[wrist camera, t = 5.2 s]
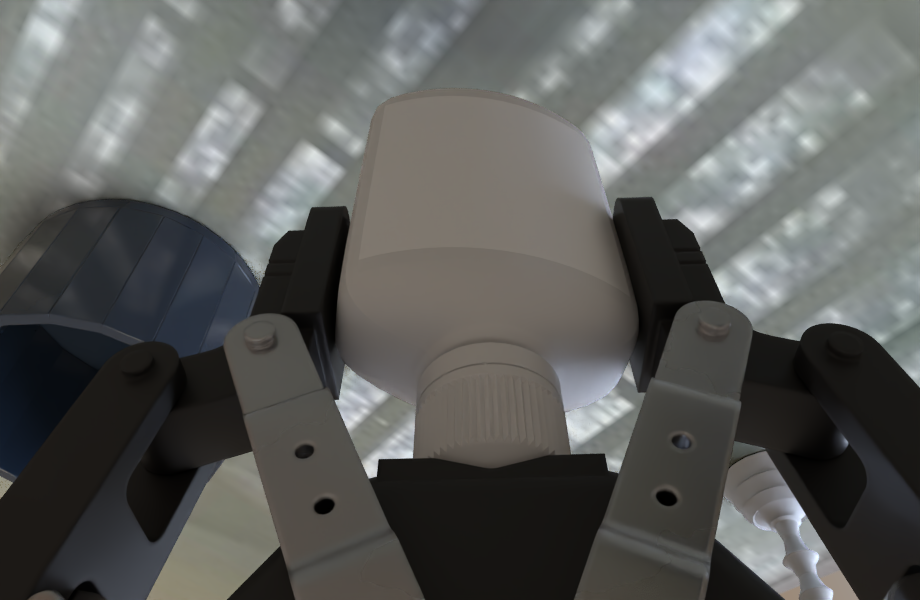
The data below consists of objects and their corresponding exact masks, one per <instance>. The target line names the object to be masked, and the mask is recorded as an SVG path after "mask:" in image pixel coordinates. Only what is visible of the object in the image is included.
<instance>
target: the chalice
mask: <svg viewBox="0 0 920 600" xmlns="http://www.w3.org/2000/svg"><path fill="white" fill-rule="evenodd" d="M723 496H724V497H725V498H726V499H727V500H728V501H730V502H731V503H732V504H733V505H734V507H735V509H736V510H737V511H739V512H740V513H741V514H743V516H744V518H745V519H746V521H748V522H750V523H751V524H753V525H755V526H756V527H758V528H760V529H763V530H767V531H774V532H776V533H778V534H779V535H780V537H781V538H782V540H783V541H784V546H785V551H786V555H785V557H784V559H783V565H784V566H785V567H786V568H788V569H790V570H793V572H794V573H795V574H796V576H797V577H798V578H799V580H800V589H801V591H800V594H799V600H832V596H833V591H832V590H831V589H830V588H828V587H827V586H825V585H824V584H823V582H822V581H821V580H820V579H819V577H818V576H817V572H816V563H817V561H818V559H819V555H818V553H816V552H815V551H813V550H810V549H808V547H807V546H806V544H805V543H804V542H803V540H802V539H801V538H800V532H799V526H800V525H801V523H802V522H803V521H804V520H805V519H807V516H806V514H805V513H804V511H803V509H802V508H801V506H800V505H799V503H798V502H797V500H796V498H795V497H794V495H793V494H792V492H791V490H790V489H789V487H788V486H787V484H786V482H785V481H784V479H783V478H782V476H781V474H780V473H779V471H778V470H777V468H776V466H775V465H774V463H773V462H772V460H771V458H770V457H769V455H768V453H767V451H764V452H759V453H756V454H754V455H751V456H748V457H745V458H744V459H742V460H740V461H738V462H737V463H735V464H733V465H732V466H731V467H730V468H729V469H728V474H727V479H726V484H725V490H724V495H723Z"/></svg>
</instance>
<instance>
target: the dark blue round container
mask: <svg viewBox="0 0 920 600" xmlns="http://www.w3.org/2000/svg"><path fill="white" fill-rule="evenodd" d="M258 291H259V286H258V284H257V282H256V280H255V278H254V276H253V274H252V272H251V271H250V269H249V268H248V266H247V265H246V264H245V262H244V261H243V259H242V258H241V257H240V256H239V255H238V254H237V253H236V252H235V251H234V249H233V248H231V247H230V246H229V245H228V244H227V243H226V242H225V241H224V240H223V239H221V238H220V237H219V236H217V235H216V234H215V233H213V232H212V231H210V230H209V229H208V228H206V227H204V226H203V225H201V224H199V223H197V222H196V221H194V220H192V219H190V218H188V217H186V216H183V215H181V214H179V213H177V212H174V211H171V210H168V209H166V208H163V207H160V206H156V205H152V204H147V203H143V202H137V201H130V200H115V199H104V200H94V201H87V202H82V203H78V204H74V205H71V206H68V207H66V208H63V209H60V210H58V211H57V212H55V213H53V214H51V215H50V216H48V217H47V218H45V219H44V220H43V221H42V222H40V223H39V224H38V225H37V226H36V227H35V229H34V230H33V231H32V232H31V233H30V234H29V235H28V236H27V237H26V238H25V239H24V240H23V241H22V242H21V243H20V244H19V245H18V247H17V248H16V249H15V250H14V251H13V253H12V254H11V255H10V256H9V258H8V259H7V260H6V261H5V262H4V264H3V265H2V266H1V267H0V476H1V477H3V478H5V479H7V480H9V481H11V482H14V481H15V480H16V478H17V477H18V476H19V474H20V473H21V472H22V471H23V469H24V468H25V467H26V465H27V464H28V463H29V461H30V460H31V459H32V457H33V456H34V455H35V454H36V452H37V451H38V450H39V448H40V447H41V446H42V444H43V443H44V442H45V440H46V439H47V438H48V437H49V435H50V434H51V433H52V431H53V430H54V429H55V427H56V426H57V425H58V423H59V422H60V421H61V420H62V418H63V417H64V416H65V414H66V413H67V412H68V410H69V409H70V408H71V406H72V405H73V404H74V403H75V401H76V400H77V399H78V397H79V396H80V395H81V393H82V392H83V391H84V389H85V388H86V387H87V386H88V384H89V383H90V382H91V380H92V379H93V378H94V376H95V375H96V374H97V372H98V371H99V370H100V369H101V367H102V366H103V365H104V363H105V362H106V361H107V360H108V359H109V358H110V357H112V356H113V355H114V354H116V353H117V352H118V351H120V350H122V349H124V348H126V347H129V346H131V345H134V344H137V343H142V342H150V341H158V342H164V343H167V344H169V345H171V346H173V347H174V348H175V349H176V351H177V352H178V355H179V357H180V358H182V357H186V356H190V355H194V354H198V353H202V352H206V351H209V350H212V349H216V348H218V347H220V346H223V343H224V339H225V336H226V334H227V333H228V331H229V330H230V329H231V328H232V327H233V326H235V325H236V324H237V323H239V322H240V321H242V320H244V319H246V318H249V317H250V315H251V312H252V309H253V306H254V303H255V300H256V297H257V294H258ZM224 460H225V459H224ZM224 460H221V461H218V462H216V465H215V467H214V469H213V471H212V473H211V475H210V477H209V479H208V481H207V482H209V481H210V479H211V478H212V476H213V475H214V474H215V472H216V471H217V470H218V468H219V467H220V466H221V464H222V463H223V461H224Z"/></svg>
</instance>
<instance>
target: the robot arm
mask: <svg viewBox="0 0 920 600" xmlns="http://www.w3.org/2000/svg"><path fill="white" fill-rule="evenodd" d="M613 221H614V225H615V228H616V232H617V235H618V238H619V242H620V245H621V248H622V252H623V255H624V258H625V262H626V265H627V269H628V272H629V276H630V280H631V284H632V288H633V291H634V295H635V299H636V303H637V307H638V317H639V332H638V338H637V341H636V344H635V347H634V350H633V352H632V354H631V357H630V359H629V360H630V364H631V368H632V372H633V376H634V379H635V383H636V387H637V391H638V393H641V392H646V394H645V397H644V400H643V403H642V406H641V409H640V412H639V415H638V418H637V421H636V424H635V427H634V430H633V433H632V436H631V439H630V442H629V445H628V448H627V451H626V454H625V457H624V460H623V463H622V466H621V469H620V472H619V473H615V472H611V471H608V468H607V463H606V458H605V454H571V455H547V456H543V457H539V458H535V459H531V460H527V461H523V462H519V463H515V464H511V465H507V466H503V467H499V468H483V467H478V466H473V465H468V464H463V463H458V462H452V461H447V460H442V459H437V458H412V459H379V461H378V471H377V477H373V478H370V479H368V476H367V474H366V472H365V469H364V467H363V465H362V463H361V460H360V458H359V456H358V453H357V451H356V449H355V446H354V444H353V442H352V440H351V437H350V435H349V433H348V430H347V428H346V426H345V424H344V421H343V419H342V417H341V414H340V412H339V410H338V408H337V405H336V403H335V401H334V400H339V395H340V389H341V383H342V377H343V371H344V366H345V363H344V362H343V360H342V359H341V357H340V355H339V352H338V349H337V346H336V342H335V325H336V311H337V299H338V290H339V283H340V277H341V271H342V265H343V259H344V254H345V248H346V242H347V237H348V232H349V227H350V219H349V214H348V210H347V207H346V206H337V207H312V208H311V210H310V213H309V216H308V220H307V223H306V227H305V230H300V231H288V232H287V233H286V234H285V235H284V236H283V237H282V238H281V239H280V240H279V241H278V242H277V243H276V244H275V245H274V247H273V250H272V253H271V256H270V259H269V264H268V265H267V268H266V271H265V276H264V277H263V280H262V283H261V285H260V288H259V291H258V294H257V297H256V300H255V303H254V306H253V309H252V312H251V315H250V317H249V318H246V319H244V320H242V321H240V322H239V323H237V324H236V325H235V326H233V327H232V328H231V329H230V330H229V331H228V333H227V334H226V336H225V339H224V343H223V346H220V347H218V348H216V349H212V350H209V351H206V352H202V353H198V354H194V355H190V356H186V357H182V358H180V357H179V355H178V352H177V351H176V349H175V348H174V347H173V346H171V345H169V344H167V343H164V342H158V341H150V342H142V343H137V344H134V345H131V346H129V347H126V348H124V349H122V350H120V351H118V352H117V353H116V354H114V355H113V356H112V357H110V358H109V359H108V360H107V361H106V362H105V363H104V365H103V366H102V367H101V369H100V370H99V371H98V372H97V374H96V375H95V376H94V378H93V379H92V380H91V382H90V383H89V384H88V386H87V387H86V388H85V389H84V391H83V392H82V393H81V395H80V396H79V397H78V399H77V400H76V401H75V403H74V404H73V405H72V406H71V408H70V409H69V410H68V412H67V413H66V414H65V416H64V417H63V418H62V420H61V421H60V422H59V423H58V425H57V426H56V427H55V429H54V430H53V431H52V433H51V434H50V435H49V437H48V438H47V439H46V440H45V442H44V443H43V444H42V446H41V447H40V448H39V450H38V451H37V452H36V454H35V455H34V456H33V457H32V459H31V460H30V461H29V463H28V464H27V465H26V467H25V468H24V469H23V471H22V472H21V473H20V474H19V476H18V477H17V478H16V480H15V481H14V482H13V484H12V485H11V486H10V488H9V489H8V490H7V491H6V493H5V494H4V495H3V497H2V498H1V499H0V600H146V599H147V597H148V595H149V593H150V591H151V589H152V587H153V585H154V583H155V581H156V580H157V578H158V576H159V574H160V572H161V570H162V568H163V566H164V564H165V562H166V560H167V558H168V556H169V554H170V552H171V551H172V549H173V547H174V545H175V543H176V541H177V539H178V537H179V535H180V533H181V531H182V529H183V527H184V525H185V523H186V522H187V520H188V518H189V516H190V514H191V512H192V510H193V508H194V506H195V504H196V502H197V500H198V498H199V496H200V494H201V493H202V491H203V489H204V487H205V485H206V483H207V481H208V479H209V477H210V475H211V473H212V471H213V469H214V467H215V465H216V462H218V461H221V460H224V459H228V458H231V457H235V456H238V455H241V454H245V453H248V452H252V451H253V454H254V457H255V461H256V464H257V468H258V471H259V474H260V478H261V481H262V485H263V488H264V491H265V495H266V498H267V502H268V505H269V508H270V512H271V515H272V519H273V522H274V526H275V529H276V532H277V536H278V539H279V543H280V547H279V548H278V549H277V550H276V551H275V552H274V553H273V554H272V555H271V556H270V557H269V558H268V559H267V560H266V561H265V562H264V563H263V564H262V565H261V566H260V567H259V568H258V569H257V570H256V571H255V572H254V573H253V574H252V575H251V576H250V577H249V578H248V579H247V580H246V581H245V582H244V583H243V584H242V585H241V586H240V587H239V588H238V589H237V590H236V591H235V592H234V593H233V594H232V595H231V596H230V597H229V598H228V599H227V600H785V599H784V598H783V597H781V596H780V595H779V594H778V593H777V592H776V591H775V590H773V589H772V588H771V587H770V586H769V585H768V584H767V583H765V582H764V581H763V580H762V579H761V578H760V577H758V576H757V575H756V574H755V573H754V572H753V571H752V570H750V569H749V568H748V567H747V566H746V565H745V564H744V563H742V562H741V561H740V560H739V559H738V558H737V557H736V556H734V555H733V554H732V553H731V552H730V551H729V550H728V549H726V548H725V547H724V546H723V545H722V544H721V543H720V542H718V541H717V540H716V539H715V535H716V530H717V525H718V520H719V515H720V510H721V505H722V500H723V495H724V490H725V484H726V479H727V474H728V469H729V464H730V459H731V454H732V449H733V444H734V441H737V442H742V443H746V444H750V445H754V446H759V447H763V448H765V449H766V451H767V453H768V455H769V457H770V458H771V460H772V462H773V463H774V465H775V466H776V468H777V470H778V471H779V473H780V474H781V476H782V478H783V479H784V481H785V482H786V484H787V486H788V487H789V489H790V490H791V492H792V494H793V495H794V497H795V498H796V500H797V502H798V503H799V505H800V506H801V508H802V509H803V511H804V513H805V514H806V516H807V517H808V519H809V521H810V522H811V524H812V525H813V527H814V529H815V530H816V532H817V533H818V535H819V537H820V538H821V540H822V541H823V543H824V545H825V546H826V548H827V549H828V551H829V552H830V554H831V556H832V557H833V559H834V560H835V562H836V564H837V565H838V567H839V568H840V570H841V572H842V573H843V575H844V576H845V578H846V580H847V581H848V583H849V584H850V586H851V587H852V589H853V591H854V592H855V594H856V596H857V597H858V599H859V600H920V387H919V386H918V385H917V384H916V383H915V382H914V381H913V380H912V379H911V378H910V377H909V375H908V374H907V373H906V372H905V371H904V370H903V369H902V368H901V367H900V366H899V365H898V363H897V362H896V361H895V360H894V359H893V358H892V357H891V356H890V355H889V354H888V353H887V351H886V350H885V349H884V348H883V347H882V346H881V345H880V344H879V343H878V342H877V341H876V340H875V339H874V338H872V337H871V336H869V335H868V334H866V333H864V332H862V331H860V330H858V329H856V328H853V327H850V326H846V325H841V324H833V323H826V324H819V325H815V326H812V327H810V328H808V329H807V330H806V331H805V332H804V333H803V335H802V337H801V340H800V341H795V340H790V339H785V338H780V337H775V336H770V335H766V334H762V333H759V332H756V331H754V330H753V328H752V325H751V322H750V321H749V319H748V318H747V317H746V316H745V315H744V314H743V313H742V312H740V311H739V310H737V309H736V308H734V307H732V306H729V305H727V304H725V302H724V300H723V298H722V296H721V293H720V291H719V289H718V287H717V284H716V282H715V280H714V278H713V276H712V273H711V271H710V269H709V267H708V264H706V260H705V258H704V256H703V253H702V251H700V247H699V244H698V242H697V240H696V238H695V236H694V233H693V232H692V231H691V230H689V229H688V228H687V227H686V226H685V225H683V224H682V223H681V222H680V221H679V220H678V219H668V220H662V219H661V216H660V214H659V211H658V209H657V206H656V204H655V201H654V199H653V198H652V197H636V198H617V199H616V202H615V206H614V213H613Z"/></svg>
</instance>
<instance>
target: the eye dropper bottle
mask: <svg viewBox="0 0 920 600" xmlns="http://www.w3.org/2000/svg"><path fill="white" fill-rule="evenodd" d="M638 332H639V317H638V307H637V303H636V299H635V295H634V291H633V288H632V284H631V280H630V276H629V272H628V269H627V265H626V262H625V258H624V255H623V252H622V248H621V245H620V242H619V238H618V235H617V232H616V228H615V225H614V221H613V217H612V214H611V211H610V207H609V204H608V201H607V197H606V194H605V191H604V187H603V184H602V181H601V178H600V174H599V171H598V168H597V164H596V161H595V158H594V155H593V151H592V148H591V145H590V143H589V141H588V140H587V138H586V137H585V135H584V134H583V132H582V131H581V130H580V129H578V128H577V127H576V126H574V125H573V124H572V123H570V122H569V121H567V120H566V119H564V118H562V117H561V116H559V115H557V114H555V113H554V112H552V111H550V110H548V109H546V108H544V107H541V106H539V105H537V104H534V103H532V102H529V101H527V100H524V99H521V98H518V97H514V96H511V95H507V94H503V93H498V92H493V91H487V90H479V89H467V88H444V89H431V90H423V91H417V92H412V93H407V94H402V95H399V96H396V97H392V98H390V99H388V100H387V101H385V102H384V103H382V104H381V105H379V106H378V107H377V109H376V111H375V113H374V115H373V118H372V121H371V125H370V129H369V134H368V139H367V144H366V148H365V153H364V158H363V163H362V168H361V173H360V177H359V182H358V187H357V192H356V197H355V202H354V207H353V212H352V217H351V222H350V227H349V232H348V237H347V242H346V248H345V254H344V259H343V265H342V271H341V277H340V283H339V290H338V299H337V311H336V325H335V342H336V346H337V349H338V352H339V355H340V357H341V359H342V360H343V362H344V363H345V364H346V365H347V366H349V367H350V368H351V369H352V370H353V371H354V372H355V373H356V374H357V375H359V376H360V377H362V378H363V379H365V380H367V381H368V382H370V383H371V384H373V385H374V386H376V387H378V388H380V389H382V390H383V391H385V392H387V393H389V394H391V395H393V396H395V397H397V398H399V399H401V400H403V401H405V402H407V403H409V404H412V405H414V406H416V416H415V434H414V451H413V458H437V459H442V460H447V461H452V462H458V463H463V464H468V465H473V466H478V467H483V468H499V467H503V466H507V465H511V464H515V463H519V462H523V461H527V460H531V459H535V458H539V457H543V456H547V455H571V451H570V444H569V438H568V431H567V425H566V418H565V412H568V411H571V410H574V409H577V408H581V407H584V406H587V405H589V404H591V403H593V402H595V401H597V400H599V399H601V398H603V397H605V396H606V395H607V394H608V393H609V392H610V391H611V390H612V389H613V388H614V387H615V386H616V385H617V383H618V381H619V380H620V378H621V376H622V374H623V372H624V370H625V368H626V366H627V364H628V361H629V359H630V357H631V354H632V352H633V350H634V347H635V344H636V341H637V338H638Z"/></svg>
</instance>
